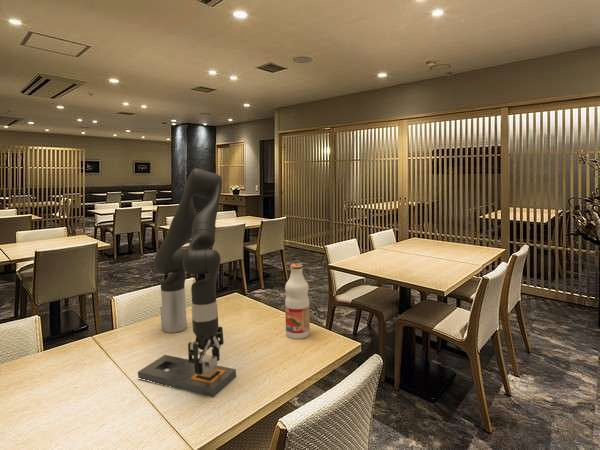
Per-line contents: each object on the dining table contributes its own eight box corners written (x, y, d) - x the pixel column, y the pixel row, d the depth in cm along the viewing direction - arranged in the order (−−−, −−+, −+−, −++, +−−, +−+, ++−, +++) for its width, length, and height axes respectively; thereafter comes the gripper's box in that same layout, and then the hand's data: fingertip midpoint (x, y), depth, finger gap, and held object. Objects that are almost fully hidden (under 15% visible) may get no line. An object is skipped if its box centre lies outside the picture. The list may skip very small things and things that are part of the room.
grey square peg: (199, 385, 116) (197, 360, 115) (207, 378, 119) (205, 354, 118) (210, 387, 114) (209, 362, 113) (218, 380, 118) (216, 356, 117)
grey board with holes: (138, 379, 120) (137, 371, 119) (165, 361, 131) (164, 354, 130) (213, 397, 109) (213, 388, 109) (236, 376, 120) (235, 368, 120)
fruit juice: (314, 336, 148) (312, 266, 145) (291, 341, 144) (290, 269, 141) (303, 327, 157) (302, 261, 153) (282, 332, 153) (280, 263, 149)
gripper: (208, 306, 122) (211, 354, 124) (178, 322, 109) (182, 376, 111) (228, 309, 119) (231, 358, 121) (200, 326, 106) (203, 381, 108)
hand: (207, 367), depth 116 cm, fingers open, 8 cm apart
